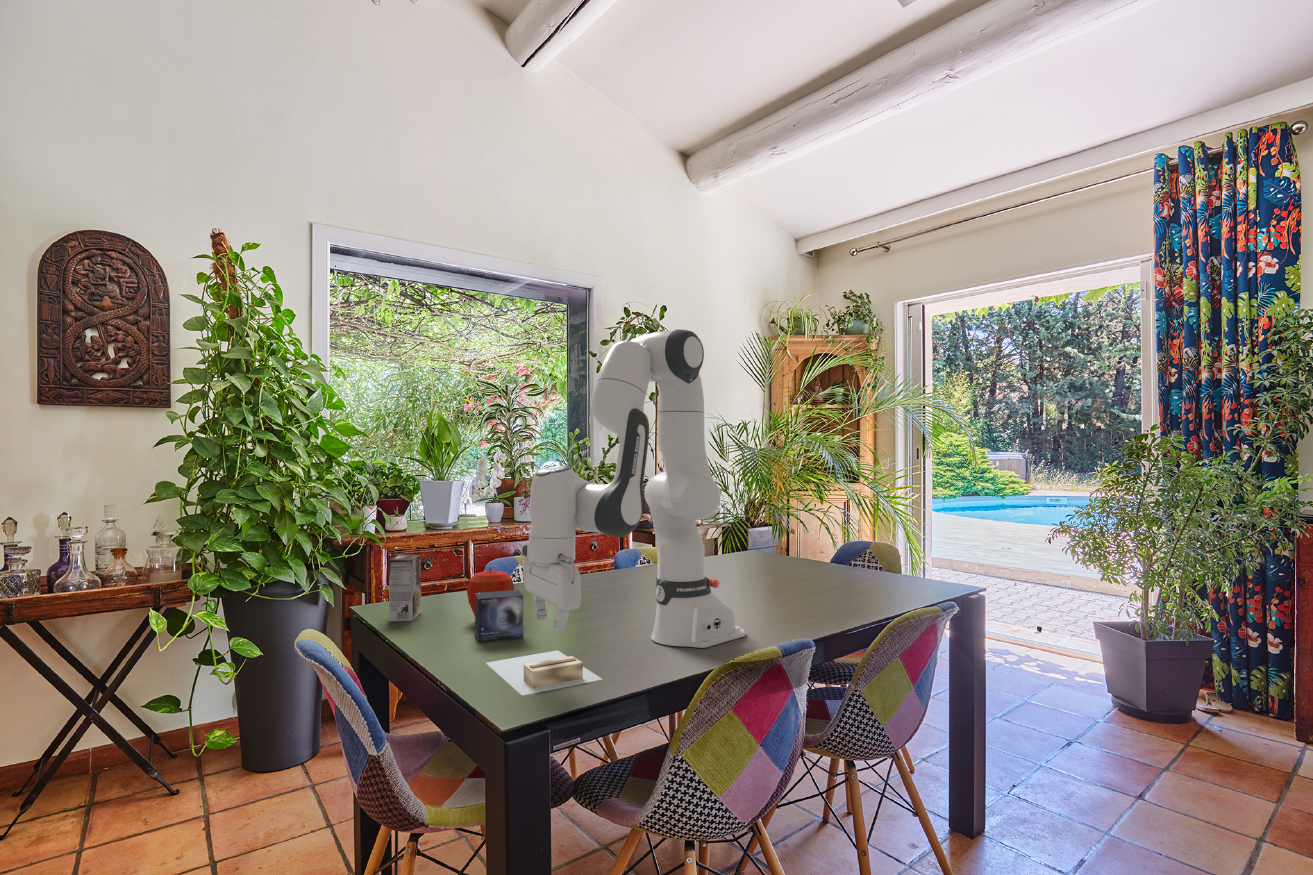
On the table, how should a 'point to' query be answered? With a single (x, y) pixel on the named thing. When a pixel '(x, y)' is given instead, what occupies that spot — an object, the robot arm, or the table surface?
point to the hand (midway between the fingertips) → (550, 624)
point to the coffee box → (404, 587)
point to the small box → (498, 615)
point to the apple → (488, 584)
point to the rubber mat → (514, 672)
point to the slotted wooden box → (553, 671)
